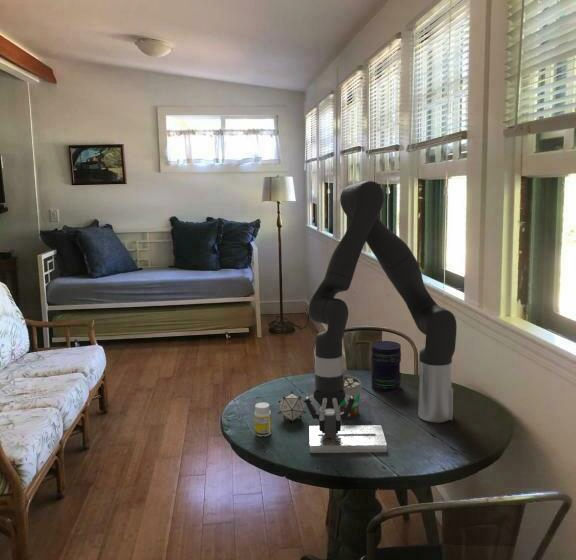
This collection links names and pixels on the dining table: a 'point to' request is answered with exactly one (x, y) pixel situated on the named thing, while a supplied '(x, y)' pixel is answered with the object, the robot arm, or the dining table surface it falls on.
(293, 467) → the dining table surface
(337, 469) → the dining table surface
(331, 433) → the fader knob
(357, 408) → the food container
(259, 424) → the supplement bottle
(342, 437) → the console board
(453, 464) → the dining table surface
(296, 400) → the game die
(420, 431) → the dining table surface
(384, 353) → the storage jar
